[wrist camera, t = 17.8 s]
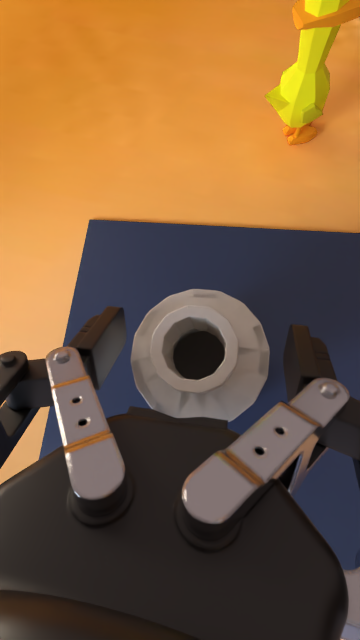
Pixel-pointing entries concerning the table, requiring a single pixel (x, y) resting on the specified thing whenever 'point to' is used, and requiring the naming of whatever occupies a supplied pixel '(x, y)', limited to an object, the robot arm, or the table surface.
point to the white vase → (200, 356)
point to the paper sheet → (261, 299)
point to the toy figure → (310, 66)
